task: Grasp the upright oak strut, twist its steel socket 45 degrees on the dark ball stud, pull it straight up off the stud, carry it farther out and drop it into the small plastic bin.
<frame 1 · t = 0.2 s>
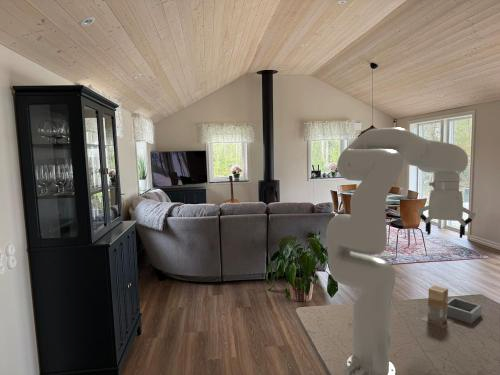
hand: (444, 235, 121), 30 cm above the kitchen island, tool pointing down, fingers open, 9 cm apart
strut: (437, 319, 120), point 1 cm above the kitchen island, touching stud plate
stud plate: (437, 324, 120), on the kitchen island
bin: (461, 318, 123), on the kitchen island
adjustable wrench: (416, 334, 115), on the kitchen island
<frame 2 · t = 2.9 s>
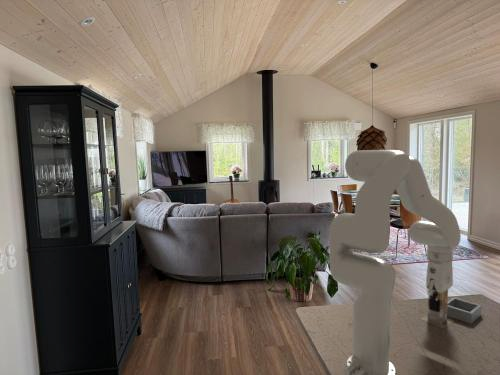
hand: (437, 307, 120), 6 cm above the kitchen island, tool pointing down, fingers closed on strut, 4 cm apart
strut: (437, 319, 120), point 2 cm above the kitchen island, touching gripper, stud plate
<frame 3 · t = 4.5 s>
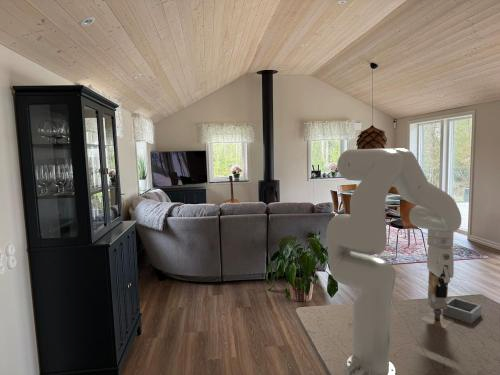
hand: (437, 293, 119), 11 cm above the kitchen island, tool pointing down, fingers closed on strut, 4 cm apart
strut: (436, 306, 119), point 7 cm above the kitchen island, touching gripper
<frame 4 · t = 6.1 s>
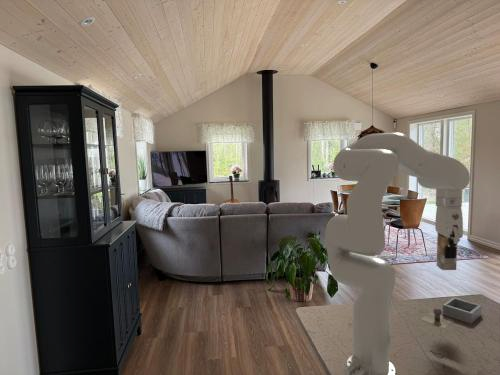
hand: (446, 255, 118), 24 cm above the kitchen island, tool pointing down, fingers closed on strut, 4 cm apart
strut: (446, 267, 119), point 19 cm above the kitchen island, touching gripper
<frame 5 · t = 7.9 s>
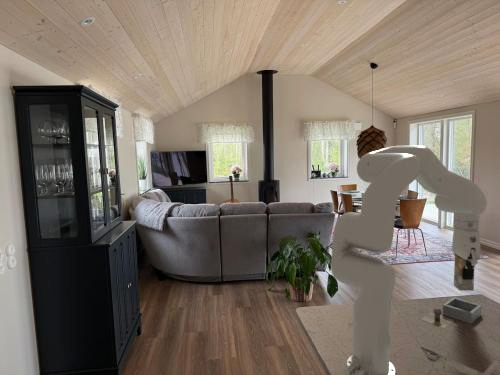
hand: (463, 275, 122), 15 cm above the kitchen island, tool pointing down, fingers closed on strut, 4 cm apart
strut: (463, 287, 122), point 11 cm above the kitchen island, touching gripper
when the fingers open (7 cm above the kitchen island, at t = 9.4 s): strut drops 2 cm, resting on bin.
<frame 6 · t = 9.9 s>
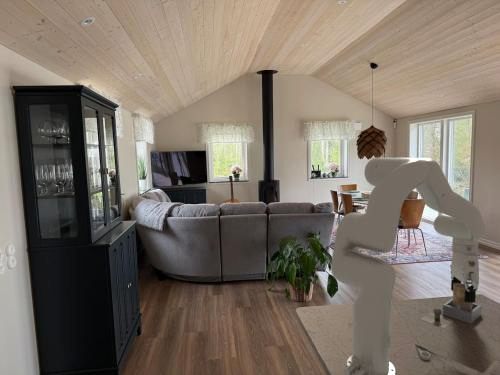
hand: (462, 296, 122), 8 cm above the kitchen island, tool pointing down, fingers open, 9 cm apart
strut: (461, 316, 123), point 1 cm above the kitchen island, touching bin
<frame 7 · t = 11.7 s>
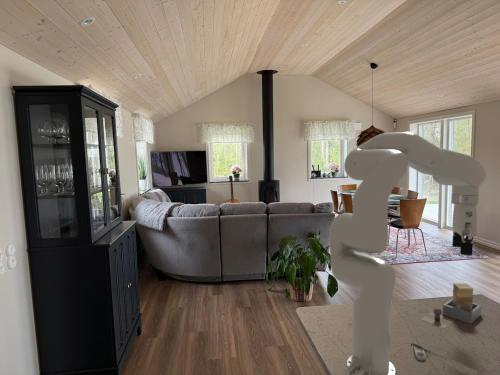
hand: (461, 250, 117), 25 cm above the kitchen island, tool pointing down, fingers open, 9 cm apart
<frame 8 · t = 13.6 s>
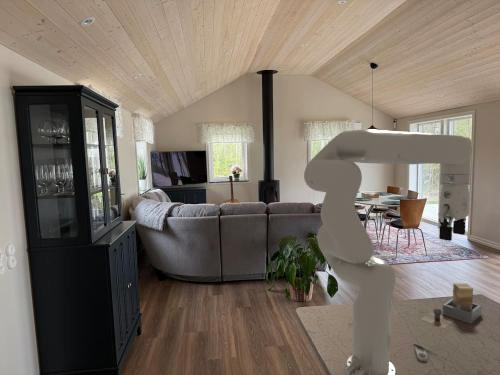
hand: (452, 236, 105), 33 cm above the kitchen island, tool pointing down, fingers open, 9 cm apart
at the end: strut inside the target area on the bin (0.1 cm from its centre), point 1.0 cm above the bin's base; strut moved 10.7 cm from its start; the gripper is holding nothing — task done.
